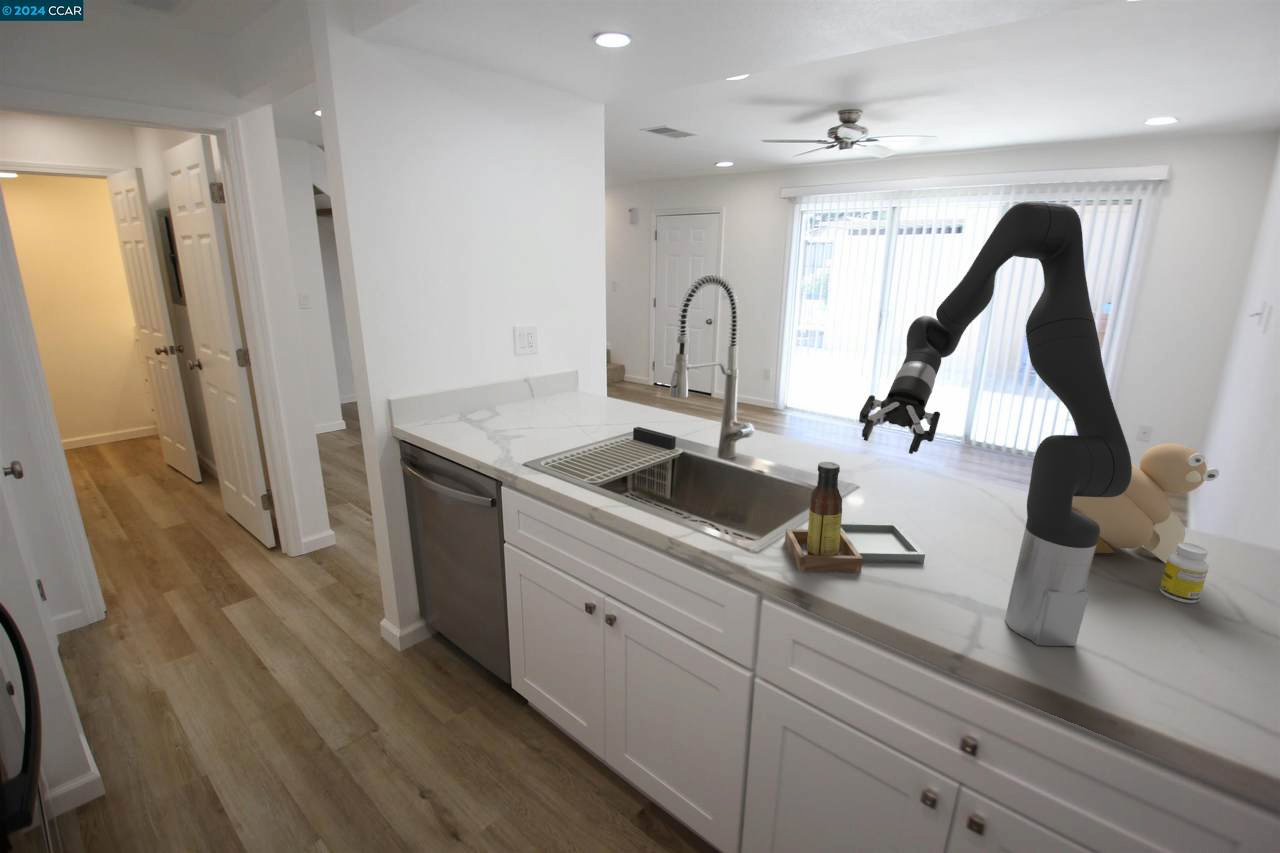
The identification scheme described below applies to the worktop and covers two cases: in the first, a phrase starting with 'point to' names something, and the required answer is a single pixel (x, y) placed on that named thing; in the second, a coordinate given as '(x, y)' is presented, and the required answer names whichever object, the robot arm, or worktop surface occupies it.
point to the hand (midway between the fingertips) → (888, 444)
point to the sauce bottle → (825, 512)
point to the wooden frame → (823, 562)
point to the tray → (882, 543)
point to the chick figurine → (1148, 502)
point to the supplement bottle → (1185, 573)
